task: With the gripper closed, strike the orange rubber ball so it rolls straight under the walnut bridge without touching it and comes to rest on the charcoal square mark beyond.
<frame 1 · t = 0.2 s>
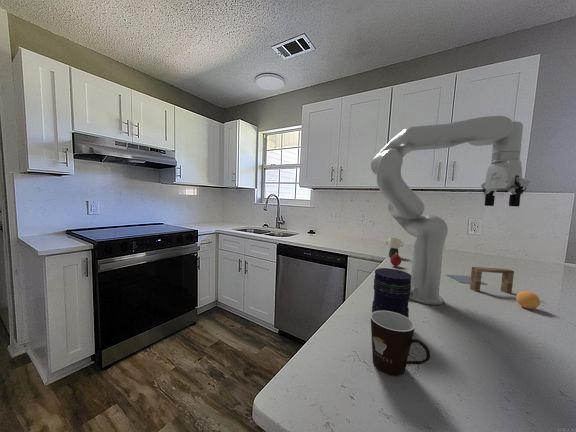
hand: (500, 206, 85), 36 cm above the countertop, tool pointing down, fingers open, 9 cm apart
onion: (395, 267, 133), on the countertop
storage jar: (388, 323, 68), on the countertop
bridge: (490, 291, 100), on the countertop
character mug: (393, 257, 157), on the countertop
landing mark: (465, 279, 115), on the countertop
ball: (527, 299, 84), on the countertop
coffee mug: (392, 371, 48), on the countertop
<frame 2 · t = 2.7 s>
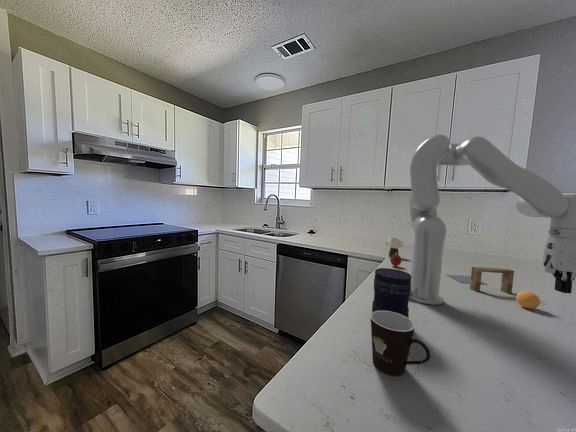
hand: (562, 291, 73), 10 cm above the countertop, tool pointing down, fingers closed
nothing on the countertop moved.
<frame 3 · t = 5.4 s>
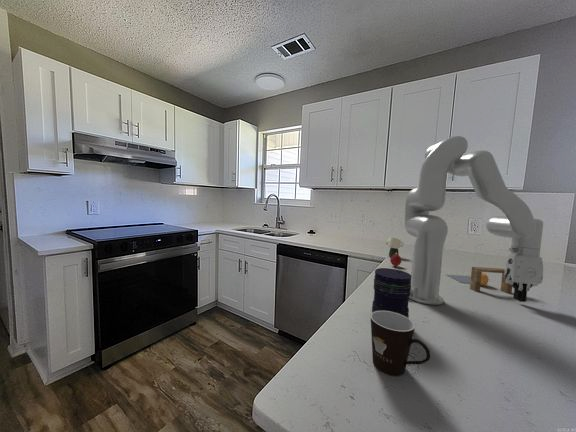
hand: (519, 300, 87), 2 cm above the countertop, tool pointing down, fingers closed
ball: (480, 278, 107), on the countertop
everything else where it was.
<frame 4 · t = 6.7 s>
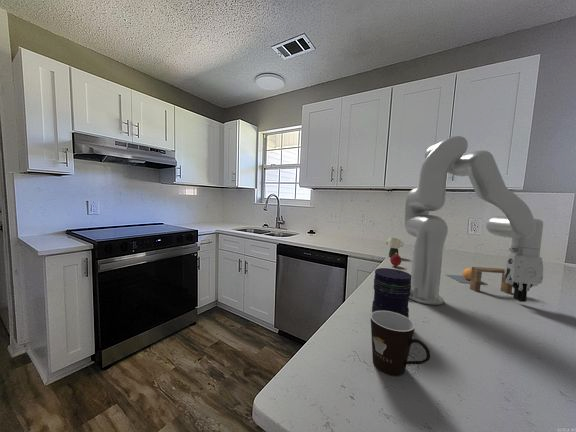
hand: (519, 300, 87), 2 cm above the countertop, tool pointing down, fingers closed
ball: (470, 274, 113), on the countertop
everything else where it was.
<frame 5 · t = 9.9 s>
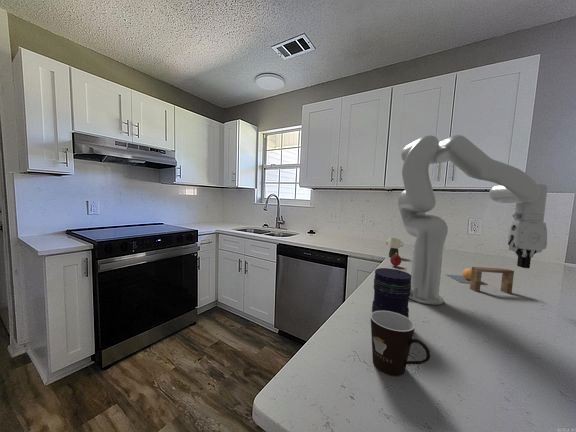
hand: (523, 267, 86), 14 cm above the countertop, tool pointing down, fingers closed
nothing on the countertop moved.
at the end: ball 1.8 cm from the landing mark (horizontally); ball never touched bridge; ball at rest at the end (0.0 cm/s) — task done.
